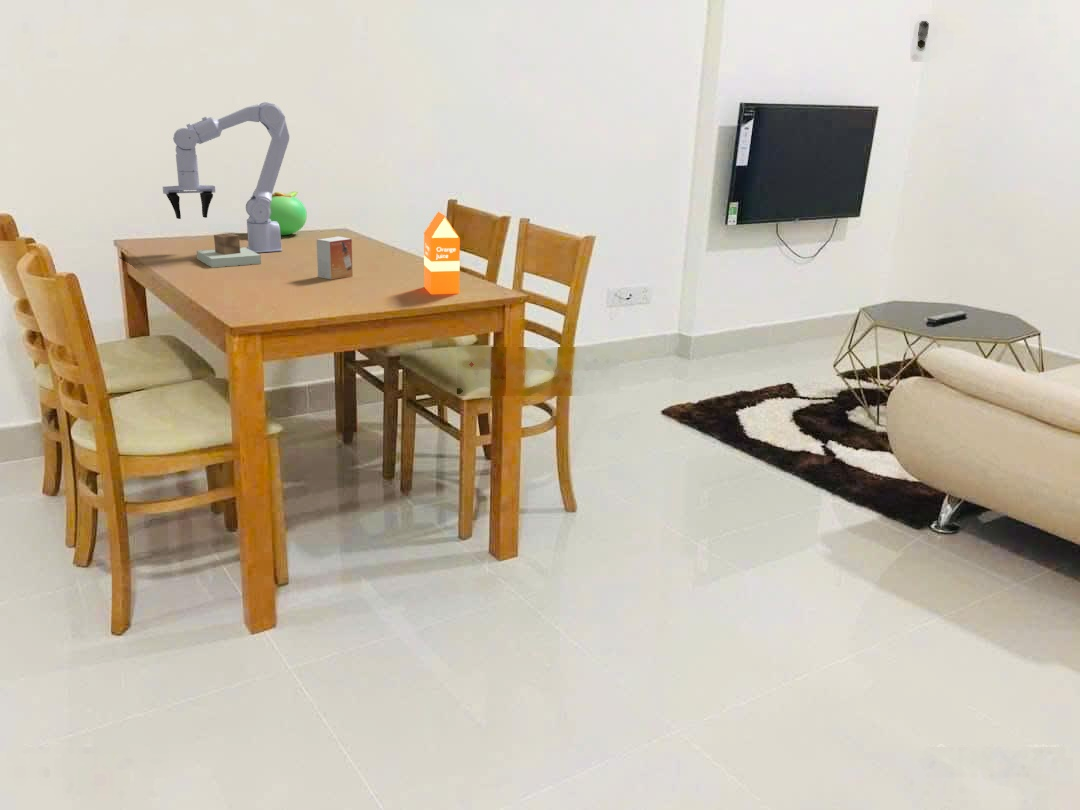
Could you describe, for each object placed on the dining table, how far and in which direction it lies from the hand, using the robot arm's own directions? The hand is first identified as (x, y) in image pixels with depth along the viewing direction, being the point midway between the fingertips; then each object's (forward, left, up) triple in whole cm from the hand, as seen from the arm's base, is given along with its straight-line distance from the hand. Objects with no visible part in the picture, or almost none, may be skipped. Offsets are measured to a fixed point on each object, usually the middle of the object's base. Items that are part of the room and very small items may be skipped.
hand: (191, 217), depth 263 cm
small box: (-24, +49, -11) cm, 55 cm away
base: (-5, +17, -11) cm, 20 cm away
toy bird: (-35, -22, -11) cm, 43 cm away
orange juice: (-42, +76, -11) cm, 87 cm away
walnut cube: (-5, +16, -8) cm, 19 cm away
